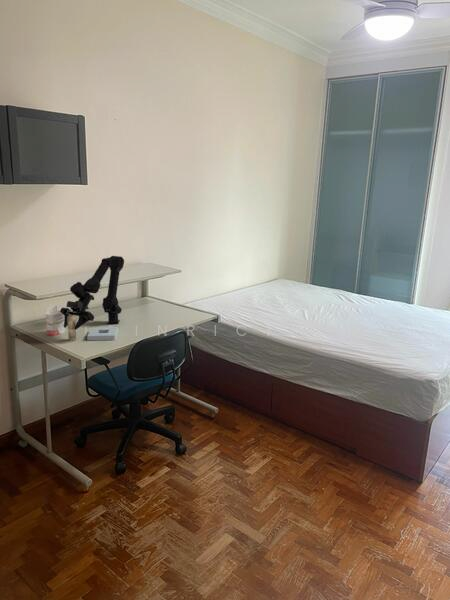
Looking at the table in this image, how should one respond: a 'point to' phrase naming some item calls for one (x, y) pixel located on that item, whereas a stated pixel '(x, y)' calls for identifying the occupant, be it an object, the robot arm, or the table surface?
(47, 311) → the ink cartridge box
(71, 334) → the dowel
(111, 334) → the socket board
